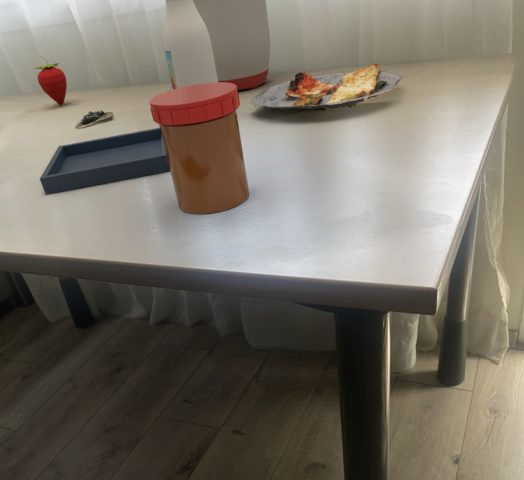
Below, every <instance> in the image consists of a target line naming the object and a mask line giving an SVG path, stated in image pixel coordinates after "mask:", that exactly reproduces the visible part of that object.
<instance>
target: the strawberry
mask: <svg viewBox="0 0 524 480" xmlns="http://www.w3.org/2000/svg"><path fill="white" fill-rule="evenodd" d="M39 57H40V58H42V59H43V60H45V61H46V59H45V57H42V55H40V56H39ZM59 64H60V63H59V62H58V63H57V62H56V63H49V62H48V61H46V65H41V66H38V67H34V69H35V70H41V71H39V72H38V74H37V83H38V84H39V86H40V88H41V89H42V91H43V92H44V93H45V94H46V95H47V96H48V97H49V98H50V99H52V100H53V101H54V102H55V103H56V104H57V105H59V106H64V104H65V99H66V95H67V88H68V85H67V76H66V75H65V72H64V70H62V69H60V68H59V67H58V66H59Z"/></svg>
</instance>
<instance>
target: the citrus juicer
mask: <svg viewBox="0 0 524 480" xmlns="http://www.w3.org/2000/svg"><path fill="white" fill-rule="evenodd" d="M193 2H194V4H195V7H196V9H197V11H198V13H199V14H200V16H201V18H202V19H203V21H204V23H205V25H206V27H207V30H208V33H209V36H210V40H211V45H212V50H213V56H214V61H215V67H216V73H217V78H218V82H225V83H232V84H235V85H236V86H237V91H240V90H245V89H247V90H252V89H256V88H258V86H259V85H262V84H264V83H265V82H266V81H267V78H268V74H269V69H270V68H269V64H270V58H271V40H270V39H271V38H270V37H271V36H270V26H269V18H268V17H269V16H268V9H267V1H266V0H193Z"/></svg>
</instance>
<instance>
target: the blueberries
mask: <svg viewBox="0 0 524 480" xmlns="http://www.w3.org/2000/svg"><path fill="white" fill-rule="evenodd" d="M113 117H114V112H113V111H107V112H106V111H104V110H96V111H95V110H94V111H91V110H90V111H88V112H87V114H84V115H83V117H82V119H80V120H79V121H78V122H77V123H76V125H75V126H74V127H75V128H76V129H82V128H85V127H87V126H91V125H94V124H96V123H97V122H98V121H102V120H105V119H107V120H108V119H111V118H113Z"/></svg>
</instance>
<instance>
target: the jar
mask: <svg viewBox="0 0 524 480" xmlns="http://www.w3.org/2000/svg"><path fill="white" fill-rule="evenodd" d="M158 126H159V128H160V130H161V134H162V139H163V143H164V147H165V151H166V155H167V159H168V163H169V167H170V171H169V172H170V175H171V180H172V183H173V188H174V192H175V196H176V200H177V204H178V207H179V209H180V210H181V211H182V212H185V213H188V214H192V215H193V214H194V215H206V214H214V213H215V214H216V213H219V212H224V211H227V210H231V209H233V208H235V207H237V206H240V205H242V204H243V203H245V201H246V200H248V198H249V196H250V190H249V184H248V183H249V182H248V177H247V171H246V165H245V163H246V162H245V157H244V152H243V146H242V138H241V132H240V126H239V118H238V113H237V109H236V110H235V111H233V112H231V113H229V114H227V115H225V116H222V117H219V118H215V119H212V120H208V121H203V122H198V123H192V124H183V125H162V124H158Z"/></svg>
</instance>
